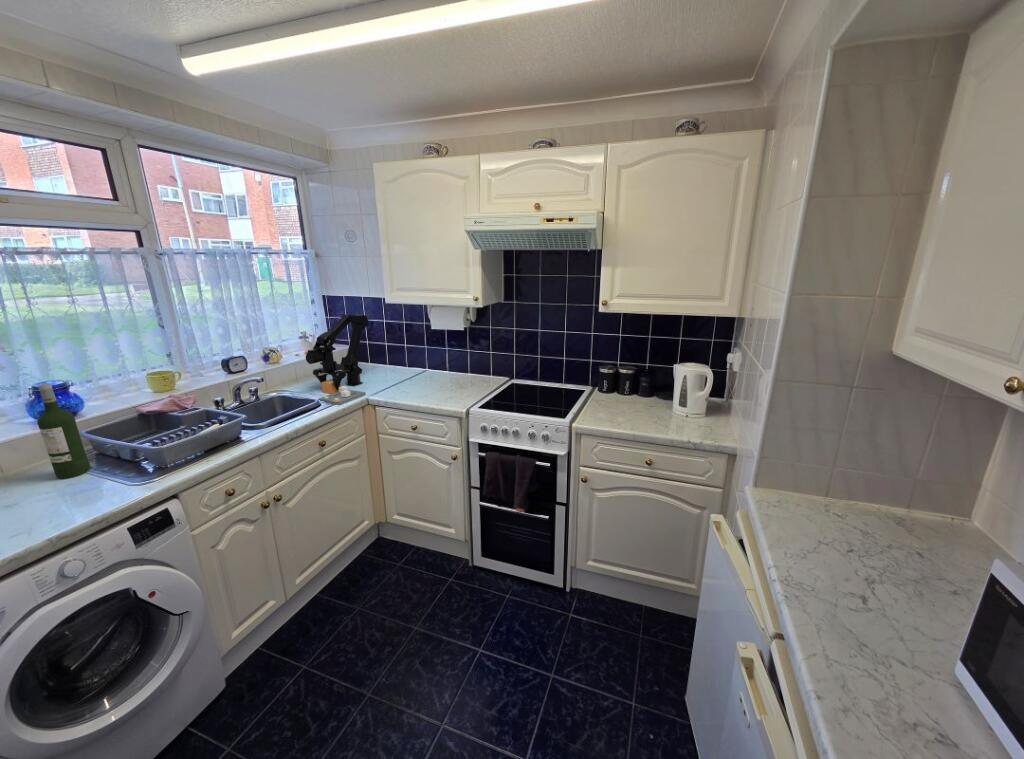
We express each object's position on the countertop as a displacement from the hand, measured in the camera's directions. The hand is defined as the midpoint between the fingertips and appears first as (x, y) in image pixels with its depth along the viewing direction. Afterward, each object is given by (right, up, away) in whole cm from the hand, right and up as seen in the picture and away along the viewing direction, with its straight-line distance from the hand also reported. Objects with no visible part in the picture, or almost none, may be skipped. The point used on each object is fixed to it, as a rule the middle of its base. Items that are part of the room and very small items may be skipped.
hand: (331, 388), depth 217 cm
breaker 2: (+13, -3, -14) cm, 19 cm away
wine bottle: (-48, -26, -82) cm, 99 cm away
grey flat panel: (+10, -4, -11) cm, 16 cm away
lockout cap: (0, -1, 0) cm, 2 cm away
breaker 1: (+9, -1, -7) cm, 11 cm away
